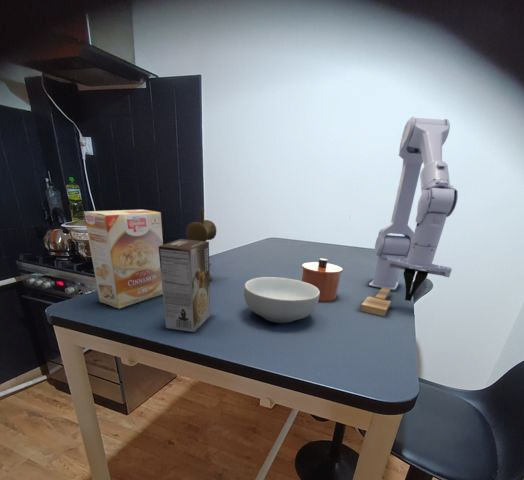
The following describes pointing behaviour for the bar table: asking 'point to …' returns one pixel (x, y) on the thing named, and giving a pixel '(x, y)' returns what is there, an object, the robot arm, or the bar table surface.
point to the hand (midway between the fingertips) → (408, 299)
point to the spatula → (377, 303)
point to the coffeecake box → (125, 255)
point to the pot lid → (322, 267)
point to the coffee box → (185, 283)
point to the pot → (323, 284)
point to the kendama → (201, 230)
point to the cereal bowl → (281, 298)
